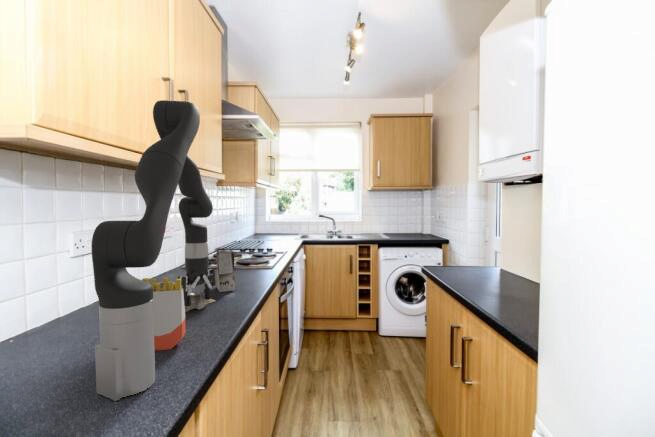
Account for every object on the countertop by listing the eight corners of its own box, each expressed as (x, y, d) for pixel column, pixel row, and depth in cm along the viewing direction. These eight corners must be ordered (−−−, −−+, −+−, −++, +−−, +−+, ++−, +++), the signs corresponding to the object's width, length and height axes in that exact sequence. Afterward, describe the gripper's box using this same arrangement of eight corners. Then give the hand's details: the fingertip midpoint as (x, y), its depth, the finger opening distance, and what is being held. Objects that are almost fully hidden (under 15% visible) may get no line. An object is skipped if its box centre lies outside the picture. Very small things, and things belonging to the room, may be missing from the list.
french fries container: (141, 344, 85) (139, 275, 84) (186, 340, 87) (184, 273, 86) (134, 352, 80) (132, 279, 79) (182, 348, 83) (181, 277, 82)
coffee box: (235, 290, 135) (234, 252, 135) (219, 292, 133) (218, 253, 132) (231, 285, 144) (231, 249, 143) (216, 286, 141) (216, 249, 140)
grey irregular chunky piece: (204, 302, 119) (205, 291, 118) (204, 310, 112) (205, 298, 111) (172, 303, 115) (173, 292, 115) (170, 311, 108) (170, 299, 108)
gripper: (187, 259, 104) (188, 310, 104) (220, 253, 116) (221, 298, 117) (171, 258, 107) (172, 307, 108) (204, 252, 120) (205, 295, 120)
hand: (197, 302), depth 112 cm, fingers open, 8 cm apart
